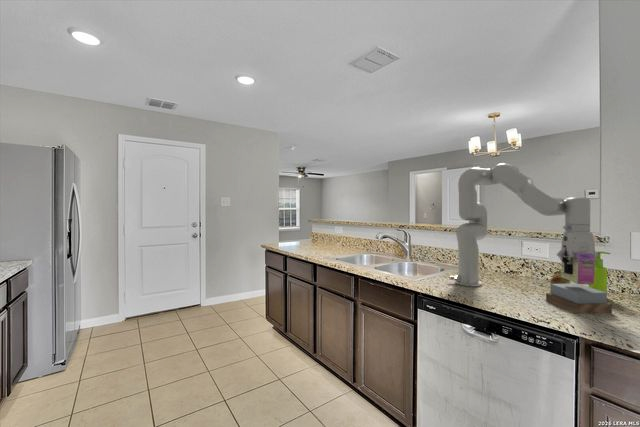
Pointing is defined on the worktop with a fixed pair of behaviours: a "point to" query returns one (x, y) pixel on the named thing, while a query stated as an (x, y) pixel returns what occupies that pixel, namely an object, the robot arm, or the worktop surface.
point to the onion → (559, 279)
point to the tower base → (579, 305)
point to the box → (581, 269)
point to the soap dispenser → (600, 274)
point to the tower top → (579, 293)
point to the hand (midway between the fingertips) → (577, 273)
